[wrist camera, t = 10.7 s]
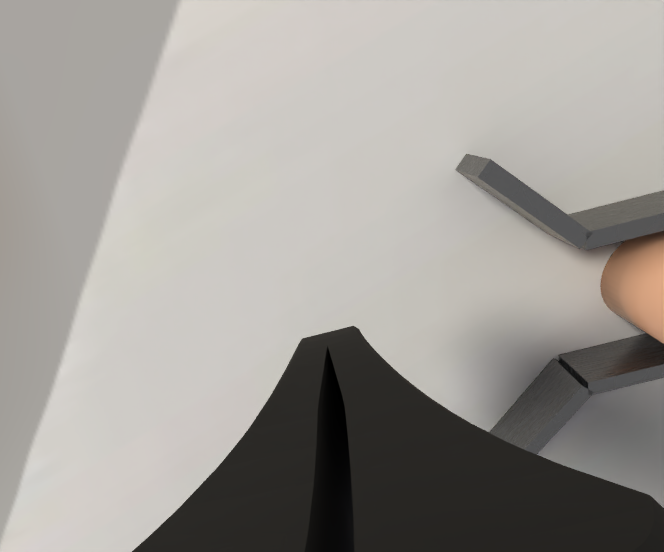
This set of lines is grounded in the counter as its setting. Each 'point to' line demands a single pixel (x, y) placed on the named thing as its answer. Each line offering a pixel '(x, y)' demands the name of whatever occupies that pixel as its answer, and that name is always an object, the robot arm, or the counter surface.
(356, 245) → the counter surface
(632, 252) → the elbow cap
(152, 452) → the counter surface
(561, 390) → the gray zigzag divider
